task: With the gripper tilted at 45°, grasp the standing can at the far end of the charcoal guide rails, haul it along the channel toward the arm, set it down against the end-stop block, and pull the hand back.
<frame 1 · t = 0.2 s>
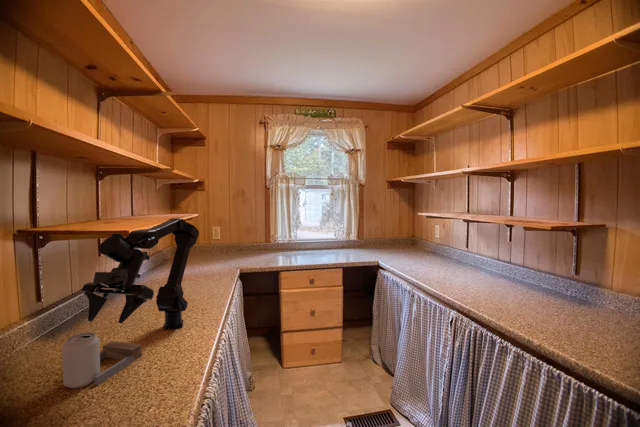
hand: (104, 322, 79), 14 cm above the worktop, tool tilted 35°, fingers open, 9 cm apart
guide rails: (102, 368, 81), on the worktop
can: (82, 381, 75), on the worktop
stop block: (122, 356, 87), on the worktop
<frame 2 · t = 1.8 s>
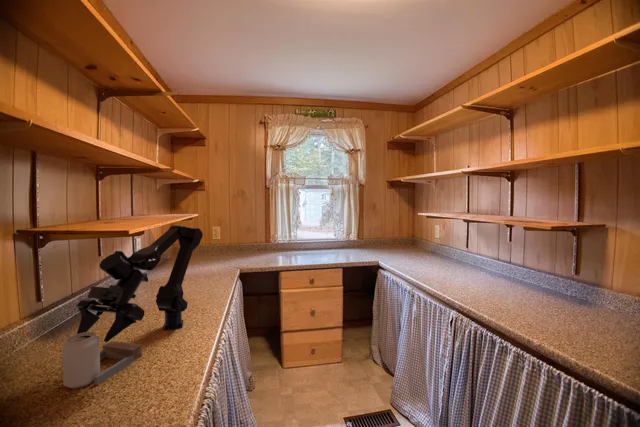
hand: (91, 339, 78), 10 cm above the worktop, tool tilted 45°, fingers open, 9 cm apart
nothing on the worktop moved.
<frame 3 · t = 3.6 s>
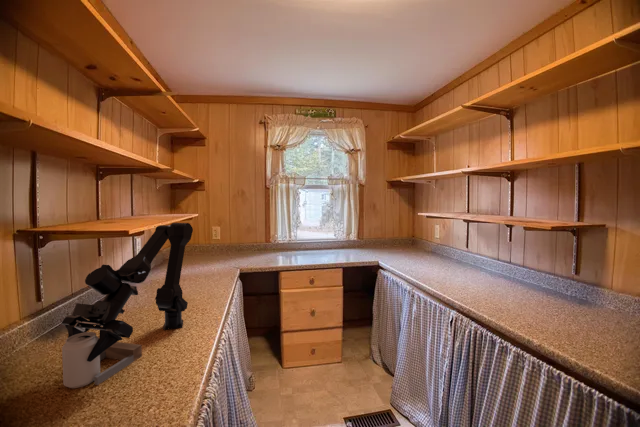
hand: (76, 359, 74), 7 cm above the worktop, tool tilted 45°, fingers closed on can, 7 cm apart
can: (82, 381, 75), on the worktop, touching gripper
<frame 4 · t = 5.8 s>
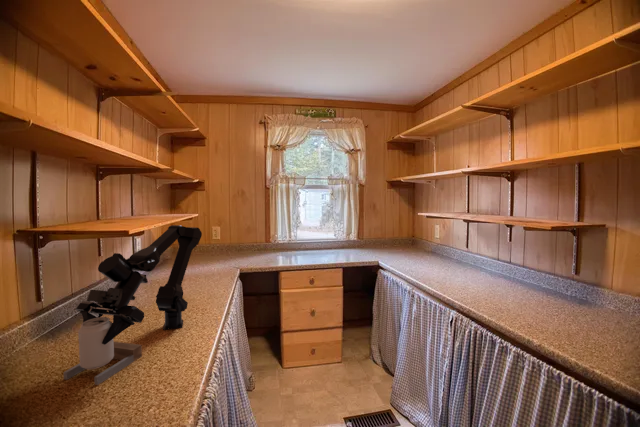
hand: (91, 342, 78), 9 cm above the worktop, tool tilted 45°, fingers closed on can, 7 cm apart
can: (97, 363, 79), point 2 cm above the worktop, touching gripper
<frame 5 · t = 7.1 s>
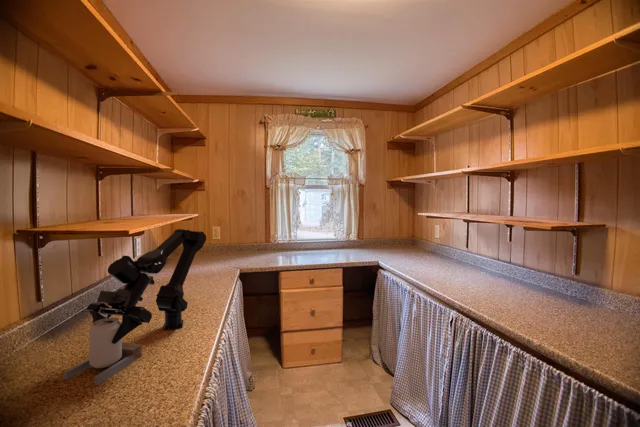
hand: (101, 341, 80), 8 cm above the worktop, tool tilted 45°, fingers closed on can, 7 cm apart
can: (106, 363, 82), point 1 cm above the worktop, touching gripper
when the fingers open (8 cm above the worktop, at t = 7.9 s): can drops 1 cm, on the worktop.
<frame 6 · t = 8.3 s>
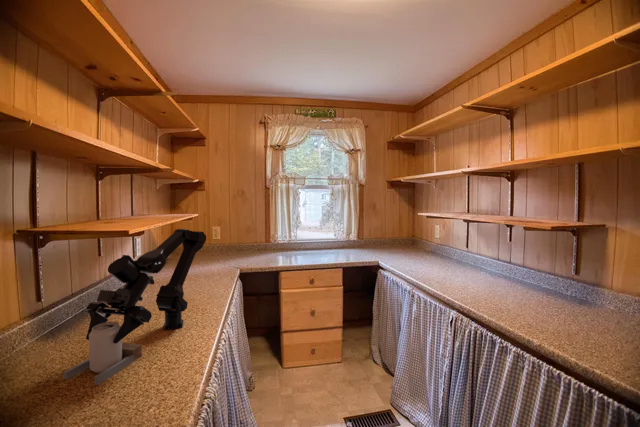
hand: (100, 341, 80), 8 cm above the worktop, tool tilted 45°, fingers open, 9 cm apart
can: (106, 367, 82), on the worktop
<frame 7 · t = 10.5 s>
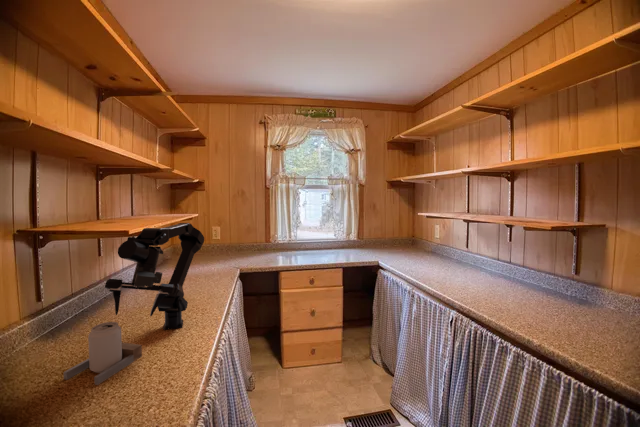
hand: (134, 315, 88), 12 cm above the worktop, tool tilted 25°, fingers open, 9 cm apart
nothing on the worktop moved.
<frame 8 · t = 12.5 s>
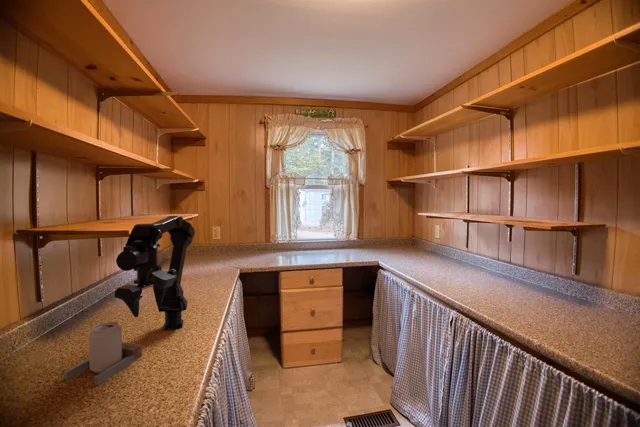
hand: (148, 311, 92), 12 cm above the worktop, tool pointing down, fingers open, 9 cm apart
nothing on the worktop moved.
at the end: can 5.3 cm from the stop block (horizontally); can tilted 0°; the gripper is holding nothing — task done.
